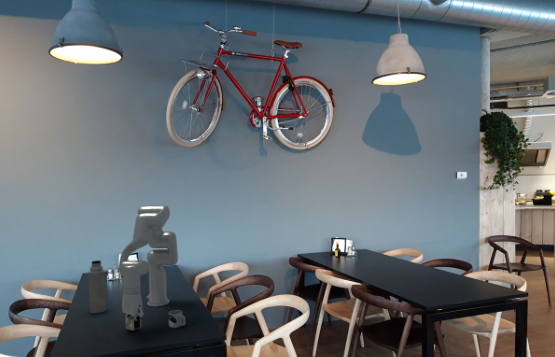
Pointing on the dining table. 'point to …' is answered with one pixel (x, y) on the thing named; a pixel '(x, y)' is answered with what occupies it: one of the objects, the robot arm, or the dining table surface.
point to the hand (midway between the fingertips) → (133, 326)
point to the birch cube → (130, 323)
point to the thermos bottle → (97, 287)
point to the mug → (176, 319)
